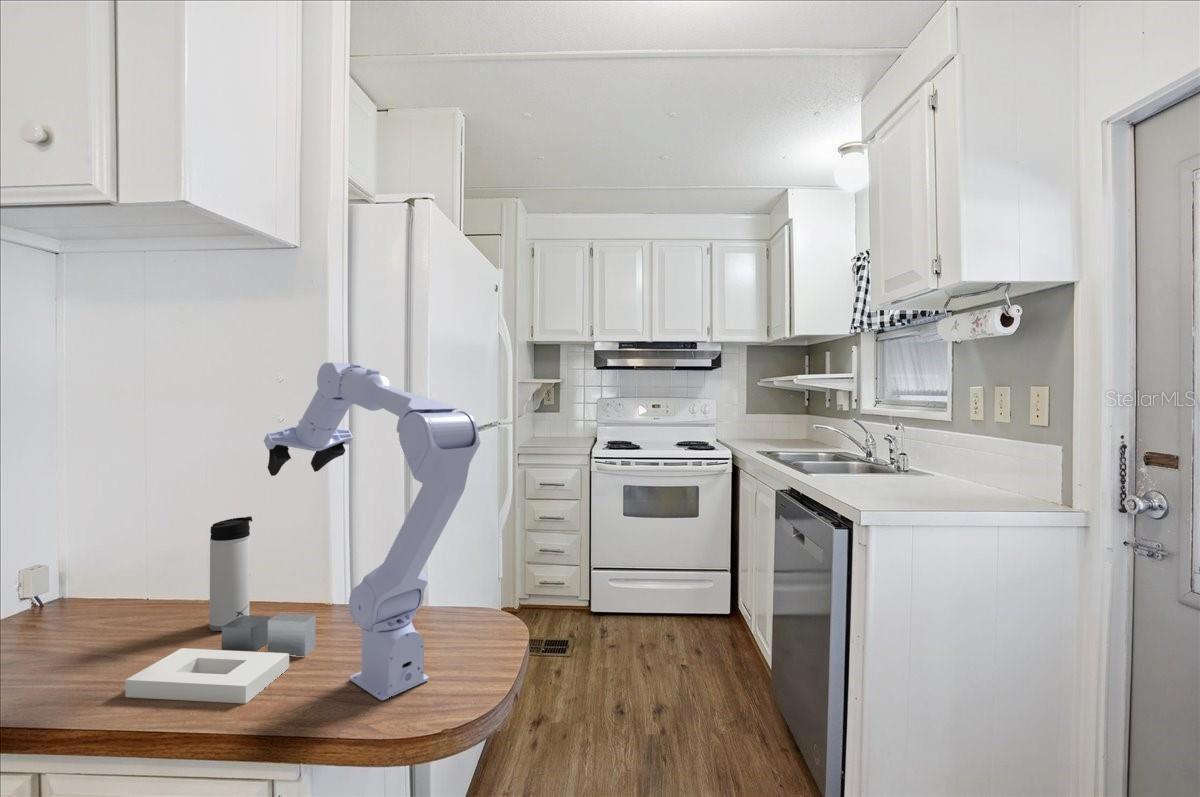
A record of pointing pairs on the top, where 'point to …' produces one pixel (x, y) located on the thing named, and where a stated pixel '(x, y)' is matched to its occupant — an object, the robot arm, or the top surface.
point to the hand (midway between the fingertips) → (293, 469)
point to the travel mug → (229, 571)
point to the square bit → (245, 633)
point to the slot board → (208, 675)
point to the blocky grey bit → (292, 634)
